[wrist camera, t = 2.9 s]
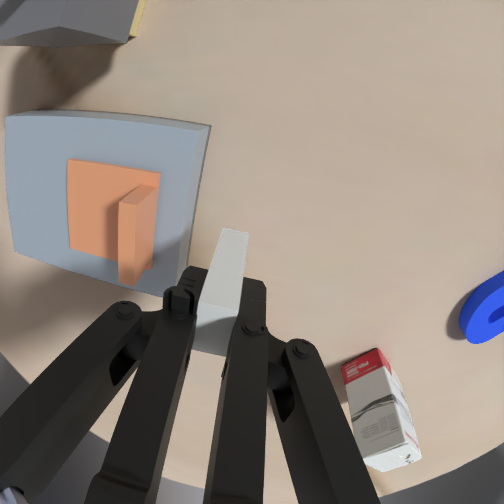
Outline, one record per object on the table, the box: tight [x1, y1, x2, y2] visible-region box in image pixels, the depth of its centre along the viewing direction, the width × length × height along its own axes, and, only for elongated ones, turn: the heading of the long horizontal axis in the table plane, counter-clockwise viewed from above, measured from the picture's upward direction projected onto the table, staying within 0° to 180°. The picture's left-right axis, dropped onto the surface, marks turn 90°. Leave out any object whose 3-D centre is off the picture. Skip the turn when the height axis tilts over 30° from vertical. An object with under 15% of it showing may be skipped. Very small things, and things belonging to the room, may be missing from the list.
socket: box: [5, 109, 211, 298], centre depth 19 cm, size 12×16×4 cm
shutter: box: [67, 158, 161, 287], centre depth 16 cm, size 7×7×3 cm
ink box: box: [341, 348, 422, 473], centre depth 25 cm, size 9×5×12 cm, turn 37°
